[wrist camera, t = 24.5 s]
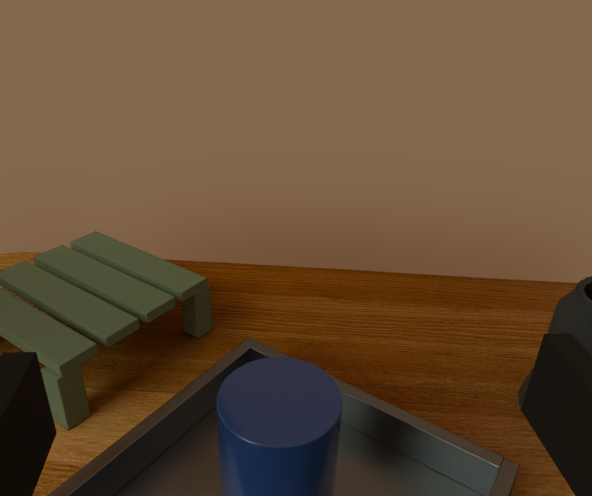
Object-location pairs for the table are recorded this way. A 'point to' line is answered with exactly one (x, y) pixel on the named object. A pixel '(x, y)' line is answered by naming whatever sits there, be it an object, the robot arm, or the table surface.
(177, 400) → the tray
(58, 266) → the rack
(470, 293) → the table surface
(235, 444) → the navy blue cylinder
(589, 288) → the mug
